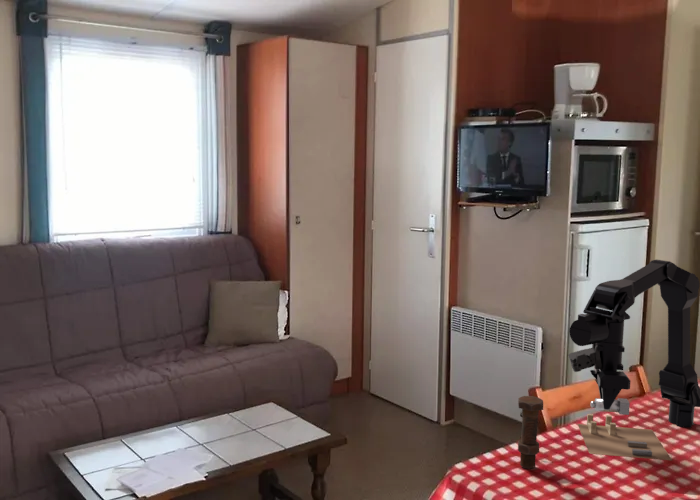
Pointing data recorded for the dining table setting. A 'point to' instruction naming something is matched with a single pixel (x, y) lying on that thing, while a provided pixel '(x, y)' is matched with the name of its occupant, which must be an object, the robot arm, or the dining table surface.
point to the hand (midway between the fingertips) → (605, 406)
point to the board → (622, 442)
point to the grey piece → (612, 406)
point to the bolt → (529, 430)
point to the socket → (638, 451)
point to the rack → (609, 425)
